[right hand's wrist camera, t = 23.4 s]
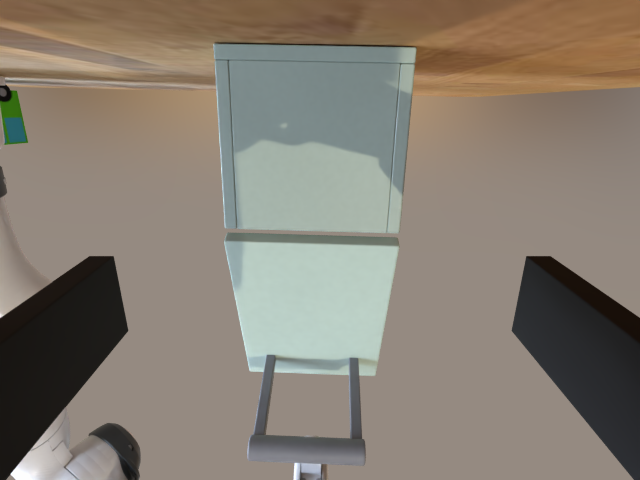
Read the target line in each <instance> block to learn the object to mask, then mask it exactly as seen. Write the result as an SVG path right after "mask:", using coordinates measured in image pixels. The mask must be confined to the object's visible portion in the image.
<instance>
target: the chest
mask: <svg viewBox="0 0 640 480" xmlns="http://www.w3.org/2000/svg"><path fill="white" fill-rule="evenodd" d="M214 58H215V75H216V91H217V107H218V124H219V140H220V156H221V172H222V189H223V205H224V221H225V228H238V229H264V230H298V231H332V232H367V233H399V232H400V223H401V212H402V201H403V191H404V180H405V169H406V158H407V147H408V136H409V125H410V114H411V103H412V92H413V81H414V70H415V64H414V63H415V60H416V47H378V46H324V45H270V44H214Z"/></svg>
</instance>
